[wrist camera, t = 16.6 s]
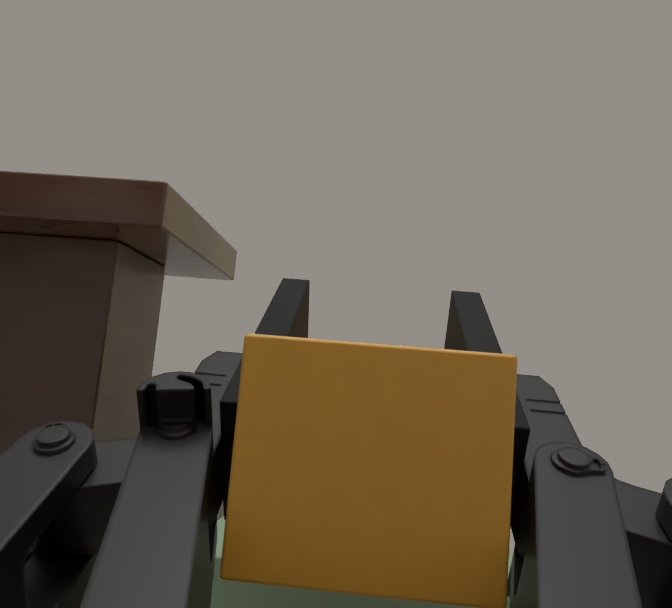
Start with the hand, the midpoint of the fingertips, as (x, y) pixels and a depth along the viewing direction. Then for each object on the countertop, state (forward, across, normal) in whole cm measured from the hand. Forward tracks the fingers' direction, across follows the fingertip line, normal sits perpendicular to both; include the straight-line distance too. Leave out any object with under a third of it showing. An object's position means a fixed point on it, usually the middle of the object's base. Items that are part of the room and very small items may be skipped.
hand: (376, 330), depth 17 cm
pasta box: (0, 0, -5) cm, 5 cm away
